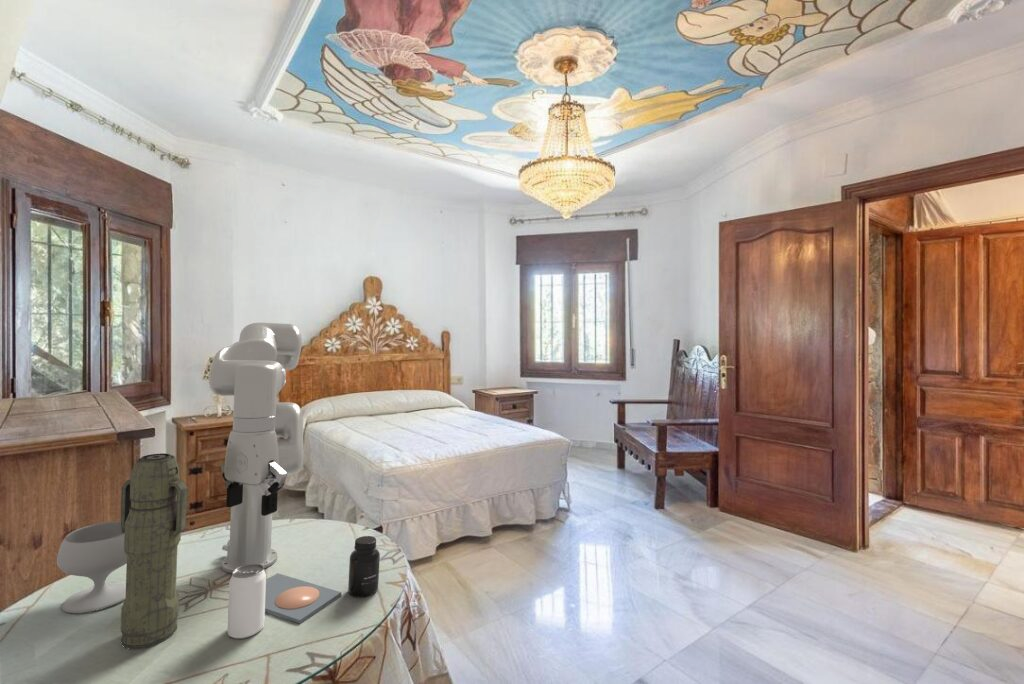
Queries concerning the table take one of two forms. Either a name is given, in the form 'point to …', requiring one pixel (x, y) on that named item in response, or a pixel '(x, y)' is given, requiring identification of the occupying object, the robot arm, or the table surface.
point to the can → (246, 601)
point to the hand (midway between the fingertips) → (251, 509)
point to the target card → (296, 598)
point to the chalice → (94, 565)
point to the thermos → (152, 549)
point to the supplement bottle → (364, 567)
